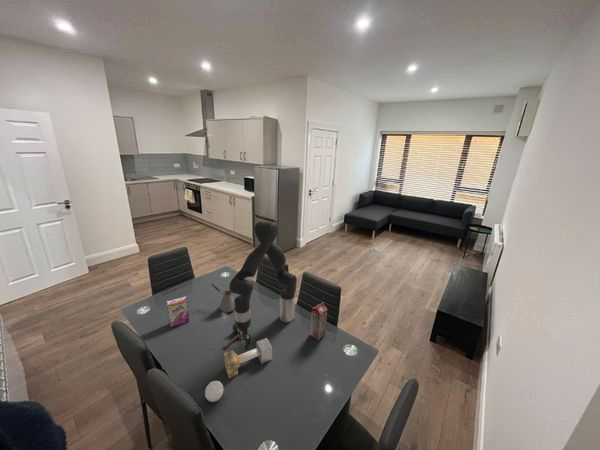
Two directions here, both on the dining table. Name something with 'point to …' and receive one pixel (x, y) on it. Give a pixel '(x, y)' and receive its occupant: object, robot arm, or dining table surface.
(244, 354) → the tube
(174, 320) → the candy bar box
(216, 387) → the geometric ball
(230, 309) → the coffee pot
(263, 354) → the grey block
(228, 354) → the socket
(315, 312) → the juice carton
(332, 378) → the dining table surface
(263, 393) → the dining table surface
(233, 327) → the coffee pot
